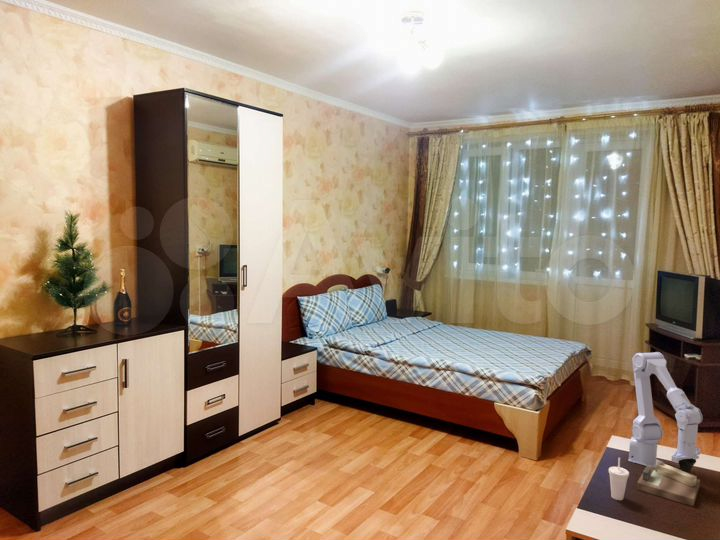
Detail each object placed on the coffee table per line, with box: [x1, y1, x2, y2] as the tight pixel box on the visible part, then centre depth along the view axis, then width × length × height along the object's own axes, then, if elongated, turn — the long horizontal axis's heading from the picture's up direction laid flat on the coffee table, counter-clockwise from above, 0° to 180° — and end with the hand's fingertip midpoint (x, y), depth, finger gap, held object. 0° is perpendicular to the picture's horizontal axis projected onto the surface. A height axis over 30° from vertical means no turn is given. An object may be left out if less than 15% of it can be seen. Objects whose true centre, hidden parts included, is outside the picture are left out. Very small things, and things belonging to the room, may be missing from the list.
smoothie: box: [608, 457, 630, 501], centre depth 177 cm, size 6×6×14 cm
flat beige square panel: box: [636, 465, 701, 507], centre depth 184 cm, size 17×17×6 cm
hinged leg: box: [655, 459, 698, 487], centre depth 186 cm, size 13×3×4 cm, turn 33°
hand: (684, 476), depth 185 cm, fingers closed, pressing on hinged leg
